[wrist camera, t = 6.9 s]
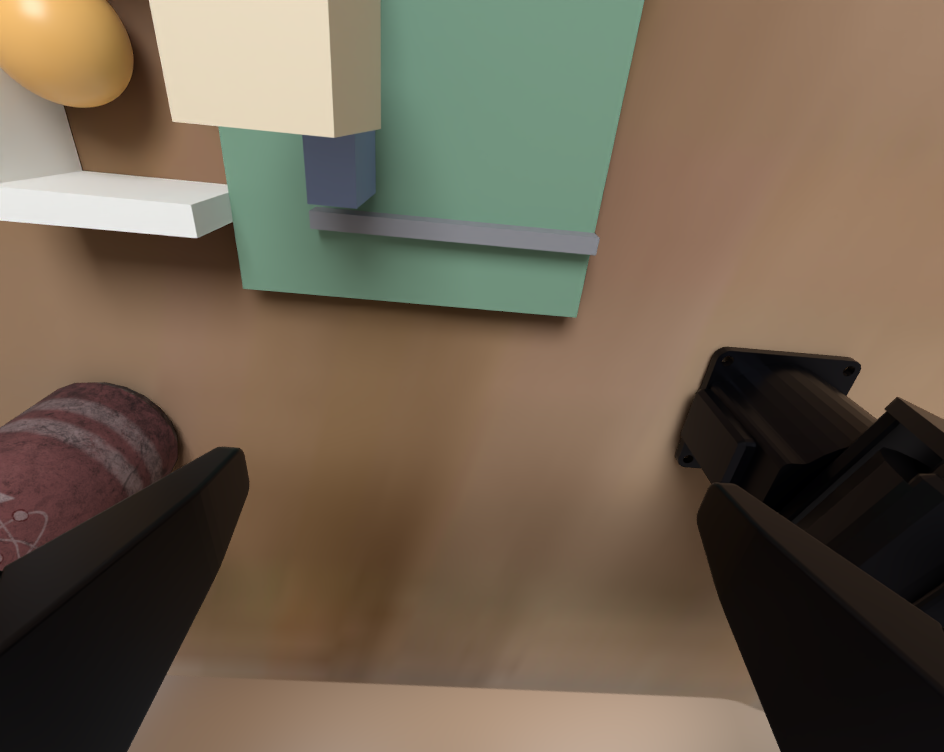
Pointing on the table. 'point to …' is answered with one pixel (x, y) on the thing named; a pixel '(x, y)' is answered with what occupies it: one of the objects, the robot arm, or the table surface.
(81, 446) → the can
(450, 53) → the panel
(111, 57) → the ball
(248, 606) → the table surface
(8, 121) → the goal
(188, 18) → the beige and blue block
